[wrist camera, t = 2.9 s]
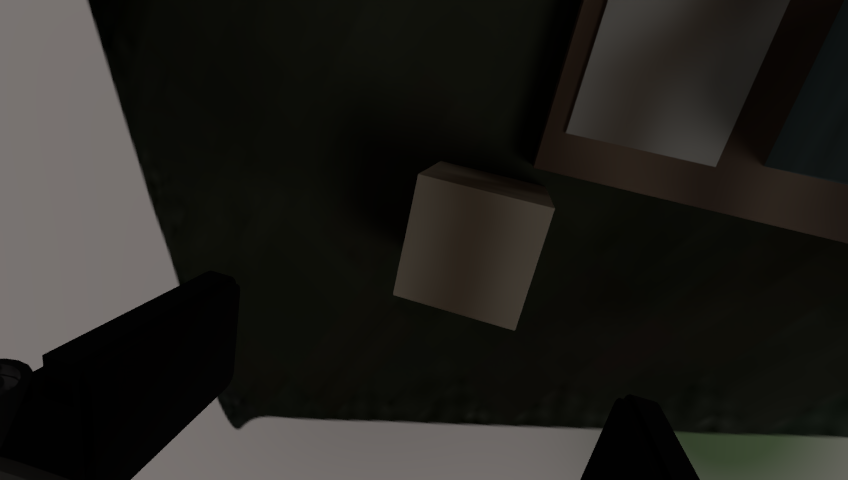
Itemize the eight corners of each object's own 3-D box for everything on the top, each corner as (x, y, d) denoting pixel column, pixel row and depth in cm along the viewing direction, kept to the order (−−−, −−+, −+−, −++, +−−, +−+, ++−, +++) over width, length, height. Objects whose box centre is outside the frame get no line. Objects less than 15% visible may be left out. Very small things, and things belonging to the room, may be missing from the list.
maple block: (544, 186, 23) (554, 208, 17) (514, 282, 25) (514, 330, 19) (441, 160, 24) (418, 174, 18) (419, 255, 26) (392, 294, 20)
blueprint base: (1070, -25, 16) (1495, -134, 9) (895, 251, 20) (1100, 323, 13) (609, -95, 19) (668, -224, 12) (532, 164, 22) (540, 185, 15)
